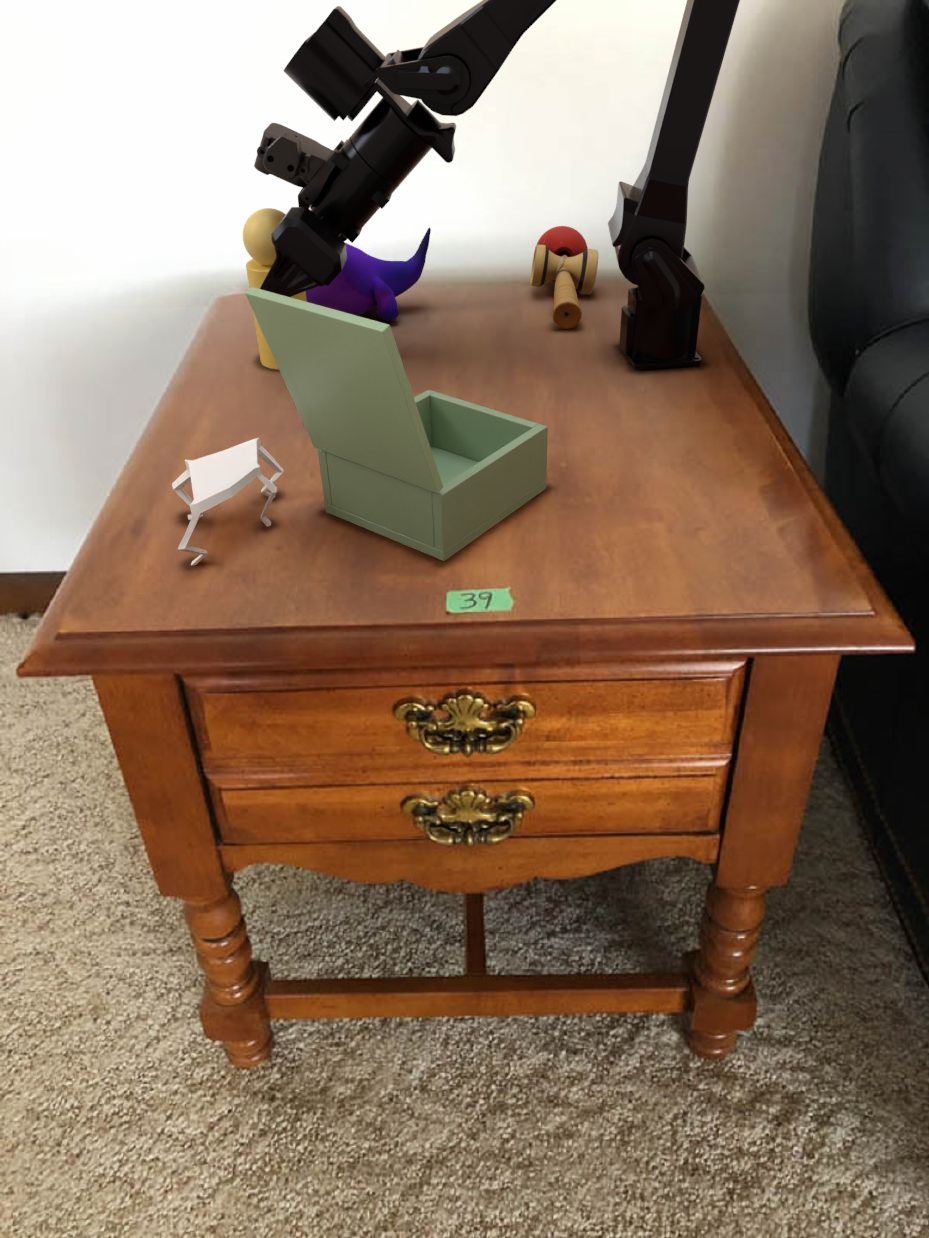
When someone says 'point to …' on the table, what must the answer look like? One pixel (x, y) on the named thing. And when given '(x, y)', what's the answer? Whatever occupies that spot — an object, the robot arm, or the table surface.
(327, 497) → the chest
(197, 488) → the white legged piece
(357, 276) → the toy
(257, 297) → the chest lid
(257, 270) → the toy figure
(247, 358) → the table surface
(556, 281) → the kendama
